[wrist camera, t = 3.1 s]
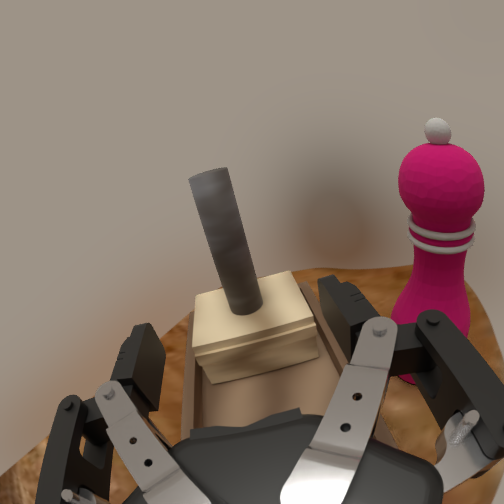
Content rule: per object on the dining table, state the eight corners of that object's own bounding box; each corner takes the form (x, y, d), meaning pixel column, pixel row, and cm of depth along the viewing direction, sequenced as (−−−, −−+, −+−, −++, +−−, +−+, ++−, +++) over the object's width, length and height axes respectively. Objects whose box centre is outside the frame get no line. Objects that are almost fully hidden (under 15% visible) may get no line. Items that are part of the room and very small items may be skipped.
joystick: (211, 386, 23) (128, 207, 16) (210, 330, 31) (155, 184, 24) (320, 358, 23) (287, 161, 16) (297, 307, 31) (264, 153, 24)
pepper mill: (447, 398, 16) (497, 124, 8) (373, 378, 21) (365, 122, 13) (462, 339, 20) (484, 118, 12) (399, 326, 25) (394, 116, 17)
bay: (199, 531, 11) (180, 525, 10) (198, 331, 33) (189, 312, 32) (400, 484, 11) (410, 473, 10) (309, 301, 33) (306, 281, 32)
